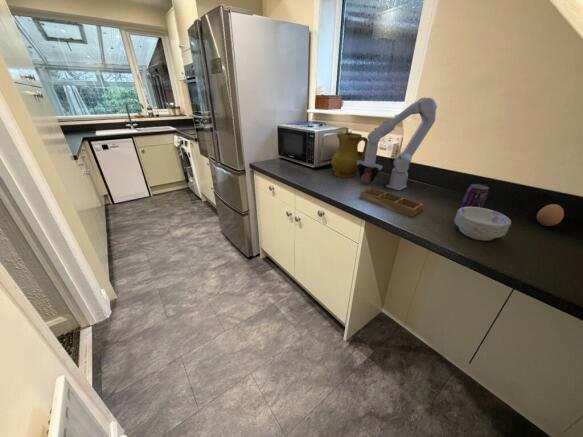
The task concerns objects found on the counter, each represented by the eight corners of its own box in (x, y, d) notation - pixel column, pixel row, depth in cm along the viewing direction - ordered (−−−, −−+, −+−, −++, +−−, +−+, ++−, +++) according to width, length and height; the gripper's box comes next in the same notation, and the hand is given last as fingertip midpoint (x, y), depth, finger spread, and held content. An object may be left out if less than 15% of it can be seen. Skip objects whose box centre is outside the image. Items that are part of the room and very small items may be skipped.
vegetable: (373, 184, 131) (376, 167, 126) (367, 187, 127) (371, 169, 122) (363, 182, 135) (366, 164, 130) (358, 184, 131) (360, 167, 126)
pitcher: (337, 168, 157) (342, 129, 144) (363, 175, 148) (372, 134, 135) (324, 175, 145) (329, 133, 132) (352, 183, 136) (361, 139, 123)
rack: (369, 193, 119) (370, 187, 117) (421, 210, 102) (423, 203, 100) (359, 198, 113) (360, 191, 112) (412, 217, 97) (414, 209, 95)
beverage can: (472, 217, 97) (484, 190, 91) (455, 210, 102) (465, 185, 97) (482, 214, 100) (494, 187, 94) (465, 207, 105) (475, 182, 100)
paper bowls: (443, 222, 93) (450, 204, 89) (484, 224, 91) (492, 206, 88) (464, 244, 79) (473, 224, 76) (512, 247, 78) (524, 226, 74)
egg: (529, 223, 93) (541, 203, 89) (536, 219, 96) (548, 199, 92) (552, 231, 88) (566, 210, 83) (559, 226, 91) (572, 206, 86)
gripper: (354, 153, 126) (351, 177, 132) (379, 158, 116) (374, 184, 122) (362, 151, 130) (358, 175, 136) (386, 156, 120) (381, 181, 127)
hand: (366, 179), depth 130 cm, fingers closed on vegetable, 6 cm apart
